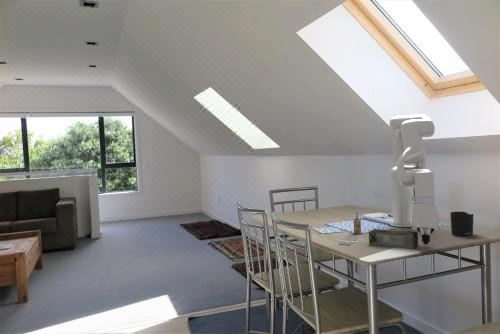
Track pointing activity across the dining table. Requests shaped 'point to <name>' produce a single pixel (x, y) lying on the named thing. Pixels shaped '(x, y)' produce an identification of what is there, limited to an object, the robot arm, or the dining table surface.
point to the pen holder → (461, 223)
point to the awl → (357, 225)
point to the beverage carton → (393, 238)
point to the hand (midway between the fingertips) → (426, 243)
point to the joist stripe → (348, 240)
